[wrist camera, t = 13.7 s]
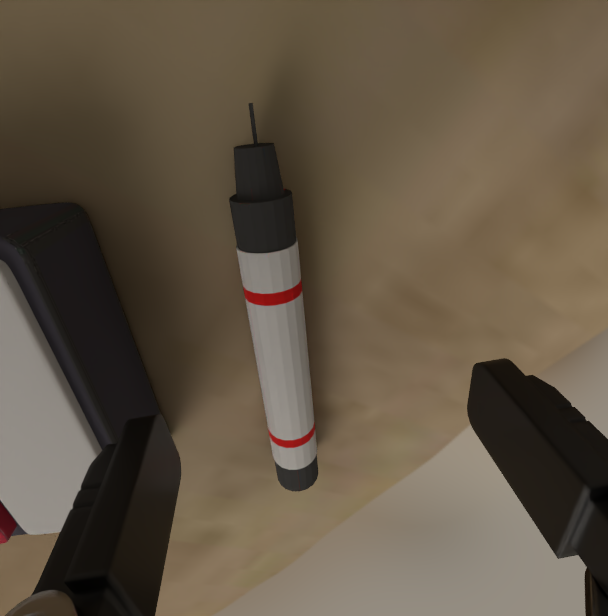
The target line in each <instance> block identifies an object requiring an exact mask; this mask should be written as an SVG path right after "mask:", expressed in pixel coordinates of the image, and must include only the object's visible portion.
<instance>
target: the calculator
mask: <svg viewBox="0 0 608 616" xmlns="http://www.w3.org/2000/svg"><path fill="white" fill-rule="evenodd" d="M157 414H161V413H160V411H159V408H158V405H157V402H156V400H155V397H154V394H153V392H152V389H151V386H150V384H149V381H148V378H147V375H146V373H145V370H144V367H143V365H142V362H141V359H140V356H139V354H138V351H137V348H136V346H135V343H134V340H133V337H132V335H131V332H130V329H129V327H128V324H127V321H126V318H125V316H124V313H123V310H122V308H121V305H120V302H119V299H118V297H117V294H116V291H115V289H114V286H113V283H112V280H111V278H110V275H109V272H108V270H107V267H106V264H105V262H104V259H103V256H102V253H101V251H100V248H99V245H98V243H97V240H96V237H95V234H94V232H93V229H92V226H91V224H90V221H89V219H88V216H87V214H86V212H85V211H84V210H83V209H82V208H81V207H80V206H78V205H77V204H74V203H55V204H44V205H35V206H25V207H16V208H6V209H0V544H1V543H5V542H7V541H8V540H9V538H10V537H11V536H14V535H23V534H31V535H39V534H47V533H56V532H61V530H62V527H63V525H64V523H65V521H66V518H67V516H68V514H69V511H70V510H71V509H73V502H74V500H75V498H76V496H77V493H78V491H80V490H81V484H82V482H83V480H84V477H85V475H86V473H87V471H88V468H89V466H90V464H91V463H92V462H93V461H94V459H95V458H96V457H97V456H98V455H99V454H100V452H101V451H102V450H103V449H104V448H105V447H106V445H109V444H115V443H118V440H119V438H120V435H121V432H122V430H123V427H124V425H125V423H126V421H127V420H129V419H133V418H139V417H145V416H151V415H157Z"/></svg>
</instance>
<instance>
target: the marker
mask: <svg viewBox="0 0 608 616" xmlns="http://www.w3.org/2000/svg"><path fill="white" fill-rule="evenodd" d="M249 110H250V117H251V125H252V132H253V140H254V144H247V145H241V146H237V147H234V159H235V177H236V194H235V195H233V196H231V197H230V199H229V201H230V207H231V213H232V218H233V224H234V230H235V236H236V241H237V246H236V249H237V255H238V260H239V266H240V272H241V277H242V283H243V289H244V294H245V300H246V306H247V311H248V317H249V323H250V328H251V334H252V340H253V345H254V351H255V357H256V362H257V368H258V374H259V379H260V385H261V391H262V396H263V402H264V408H265V413H266V419H267V425H268V430H269V436H270V442H271V447H272V453H273V458H274V460H275V465H276V470H277V476H278V480H279V482H280V484H281V485H282V486H283V487H284V488H285V489H288V490H291V491H302V490H305V489H308V488H309V487H310V486H312V485H313V484H314V482H315V481H316V479H317V476H318V465H317V454H316V453H317V444H316V434H315V423H314V412H313V401H312V390H311V380H310V369H309V358H308V347H307V336H306V325H305V315H304V304H303V293H302V282H301V271H300V261H299V250H298V240H297V237H296V231H295V221H294V210H293V200H292V192H291V191H290V190H287V189H283V184H282V179H281V175H280V170H279V165H278V160H277V156H276V151H275V146H274V143H258V142H257V134H256V126H255V119H254V111H253V103H249Z"/></svg>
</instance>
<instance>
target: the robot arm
mask: <svg viewBox="0 0 608 616" xmlns="http://www.w3.org/2000/svg"><path fill="white" fill-rule="evenodd" d="M467 411H468V417H469V420H470V423H471V426H472V428H473V430H474V431H475V433H476V434H477V436H478V437H479V439H480V440H481V442H482V443H483V445H484V446H485V448H486V450H487V451H488V453H489V454H490V456H491V457H492V459H493V460H494V462H495V463H496V465H497V466H498V468H499V469H500V471H501V472H502V474H503V476H504V477H505V479H506V480H507V482H508V483H509V485H510V486H511V488H512V489H513V491H514V492H515V494H516V495H517V497H518V498H519V500H520V501H521V503H522V504H523V506H524V507H525V509H526V511H527V512H528V514H529V515H530V517H531V518H532V520H533V521H534V523H535V524H536V526H537V527H538V529H539V530H540V532H541V533H542V535H543V537H544V538H545V540H546V541H547V543H548V544H549V546H550V547H551V549H552V550H553V552H554V553H555V555H556V556H557V558H558V559H559V558H564V557H569V556H575V555H579V556H580V558H581V559H582V561H583V562H584V564H585V565H586V566H587V569H586V571H585V609H586V616H608V439H607V438H606V437H605V436H604V435H603V434H602V433H601V432H600V431H599V430H597V429H596V427H594V425H593V424H592V423H590V422H589V421H586V419H585V417H584V416H583V415H582V414H581V413H580V412H579V411H578V410H577V409H576V408H575V407H572V406H571V403H570V402H569V401H568V400H567V399H566V398H565V397H564V396H563V395H562V394H561V393H560V392H559V391H558V390H557V389H556V388H555V387H553V386H551V385H549V384H547V383H546V382H544V381H542V380H540V379H539V378H537V377H535V376H533V375H529V376H525V375H524V374H523V373H522V372H521V371H520V370H519V369H518V367H517V366H516V365H515V364H514V363H513V362H512V361H510V360H509V359H505V358H504V359H498V360H492V361H486V362H480V363H476V364H475V365H474V367H473V370H472V377H471V384H470V391H469V398H468V405H467ZM180 479H181V462H180V457H179V454H178V451H177V449H176V446H175V444H174V441H173V439H172V436H171V434H170V432H169V429H168V427H167V424H166V422H165V419H164V418H163V416H162V415H161V414H157V415H151V416H145V417H139V418H133V419H129V420H127V421H126V423H125V425H124V427H123V430H122V432H121V435H120V438H119V440H118V443H115V444H109V445H106V447H105V448H104V449H103V450H102V451H101V452H100V454H99V455H98V456H97V457H96V458H95V459H94V461H93V462H92V463H91V464H90V466H89V468H88V471H87V473H86V475H85V477H84V480H83V482H82V484H81V490H80V491H78V493H77V496H76V498H75V500H74V502H73V509H71V510H70V511H69V514H68V516H67V518H66V521H65V523H64V525H63V527H62V530H61V532H60V534H59V536H58V539H57V541H56V543H55V546H54V548H53V550H52V552H51V555H50V557H49V559H48V562H47V564H46V566H45V568H44V571H43V573H42V575H41V577H40V580H39V582H38V584H37V586H36V588H35V590H34V592H33V593H32V595H31V596H30V597H28V598H27V599H25V600H23V601H22V602H20V603H19V604H18V605H16V606H15V607H14V608H13V609H11V610H10V611H9V612H8V613H7V614H6V615H5V616H155V612H156V607H157V602H158V596H159V591H160V586H161V580H162V575H163V570H164V565H165V559H166V554H167V549H168V543H169V538H170V533H171V527H172V522H173V517H174V511H175V506H176V501H177V495H178V490H179V485H180Z"/></svg>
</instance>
